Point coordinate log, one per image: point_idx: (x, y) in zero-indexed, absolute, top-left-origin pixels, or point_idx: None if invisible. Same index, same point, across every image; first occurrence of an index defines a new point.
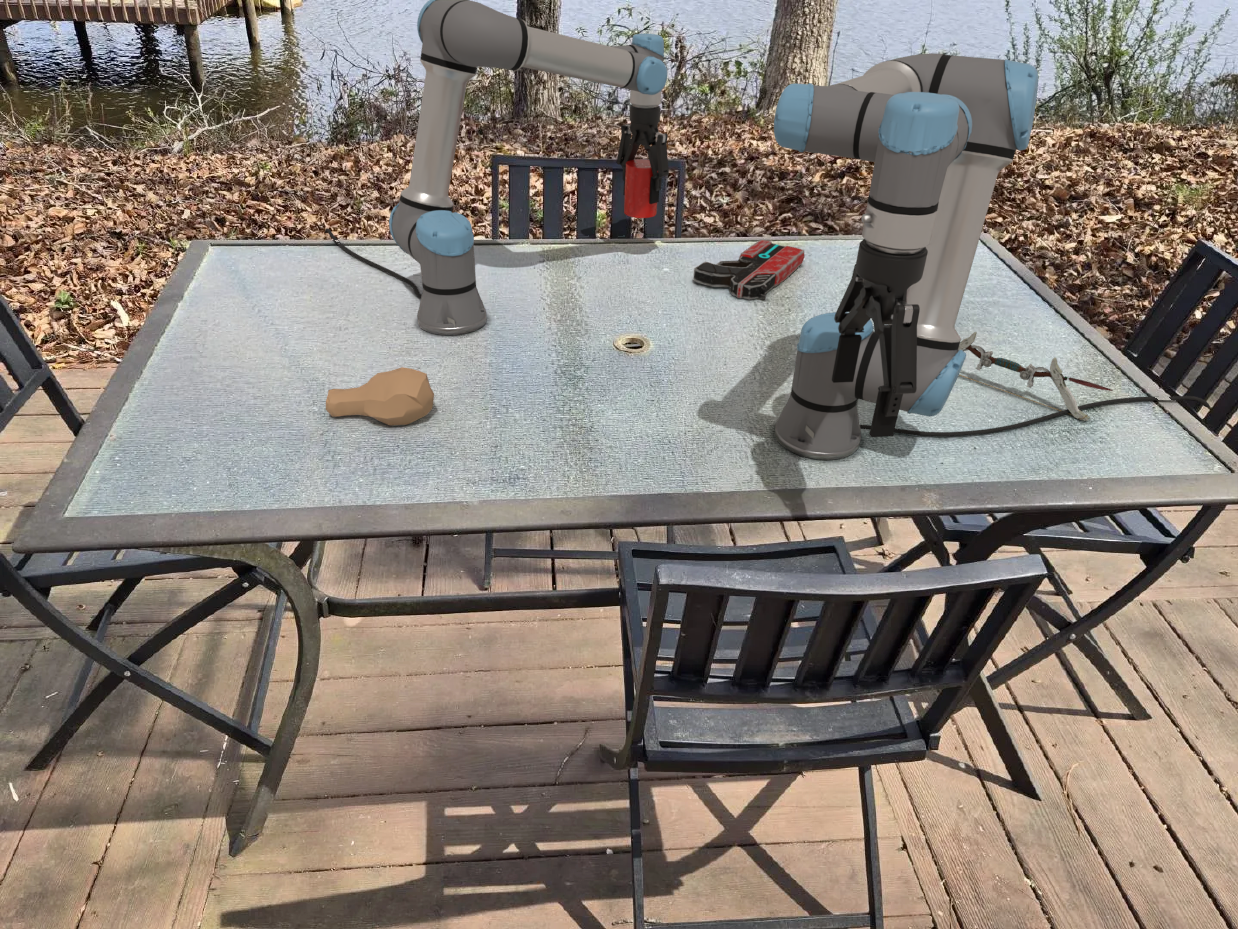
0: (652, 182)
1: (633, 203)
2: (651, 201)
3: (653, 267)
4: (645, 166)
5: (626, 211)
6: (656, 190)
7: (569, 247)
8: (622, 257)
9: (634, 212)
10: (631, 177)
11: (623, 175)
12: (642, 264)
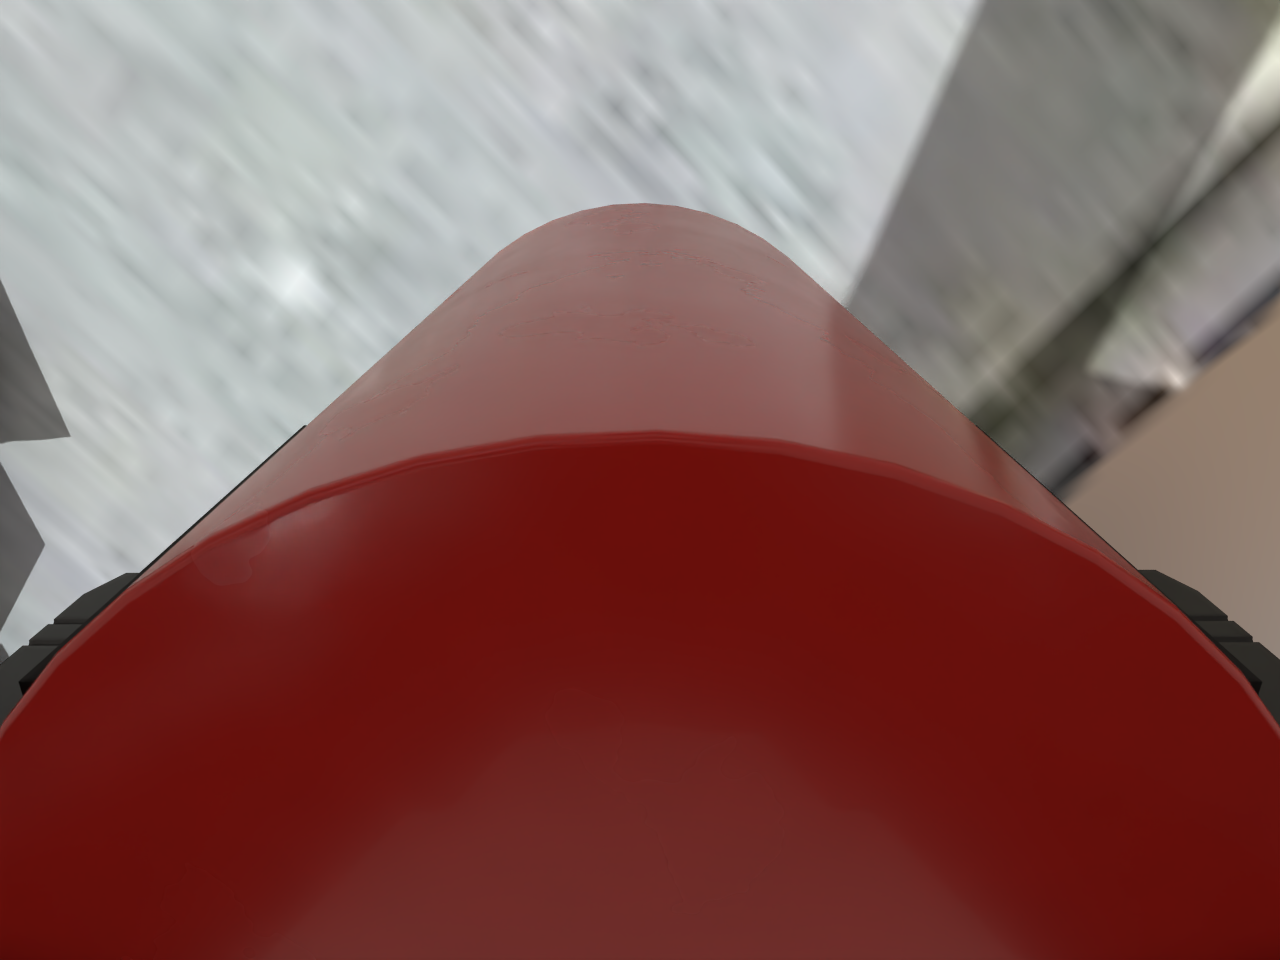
0: (102, 609)
1: (551, 238)
2: (290, 439)
3: (393, 240)
4: (241, 911)
5: (703, 215)
6: (127, 575)
7: (1266, 7)
8: (732, 209)
9: (542, 230)
10: (591, 314)
11: (1211, 627)
12: (501, 219)
